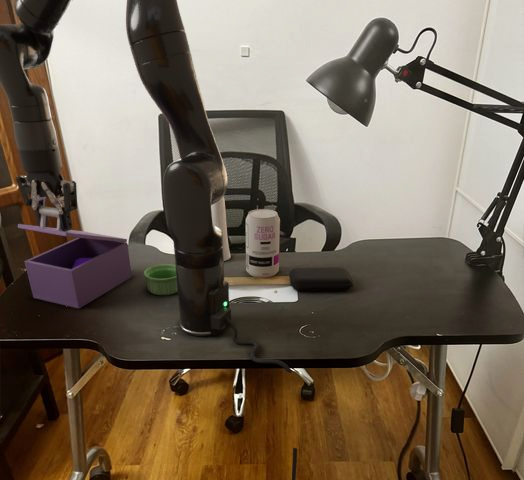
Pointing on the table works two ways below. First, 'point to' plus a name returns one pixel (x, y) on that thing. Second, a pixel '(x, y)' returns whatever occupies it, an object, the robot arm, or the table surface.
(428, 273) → the table surface
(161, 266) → the ramekin
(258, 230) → the supplement can
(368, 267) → the table surface
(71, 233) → the lid
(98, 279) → the file box
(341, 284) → the carrying case
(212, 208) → the cosmetic bottle
